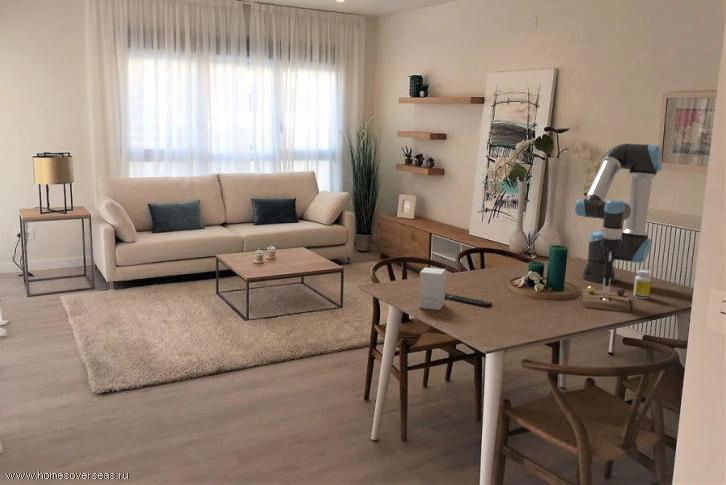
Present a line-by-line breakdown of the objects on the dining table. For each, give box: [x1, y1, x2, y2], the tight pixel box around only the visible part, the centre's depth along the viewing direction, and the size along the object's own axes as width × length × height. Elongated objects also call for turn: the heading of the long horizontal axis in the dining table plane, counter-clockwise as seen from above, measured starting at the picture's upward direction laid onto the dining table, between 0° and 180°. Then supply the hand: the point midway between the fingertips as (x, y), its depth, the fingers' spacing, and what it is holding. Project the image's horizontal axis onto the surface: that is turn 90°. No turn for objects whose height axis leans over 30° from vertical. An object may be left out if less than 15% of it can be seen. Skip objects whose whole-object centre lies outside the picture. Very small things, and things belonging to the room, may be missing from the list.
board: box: [581, 287, 631, 313], centre depth 269 cm, size 20×18×2 cm
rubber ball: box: [616, 287, 626, 295], centre depth 271 cm, size 3×3×3 cm
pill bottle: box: [632, 269, 652, 300], centre depth 277 cm, size 6×6×12 cm
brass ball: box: [586, 285, 596, 294], centre depth 273 cm, size 3×3×3 cm
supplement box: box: [418, 266, 447, 311], centre depth 258 cm, size 9×9×15 cm
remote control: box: [445, 292, 493, 309], centre depth 267 cm, size 5×24×1 cm, turn 55°
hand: (605, 292), depth 269 cm, fingers closed
